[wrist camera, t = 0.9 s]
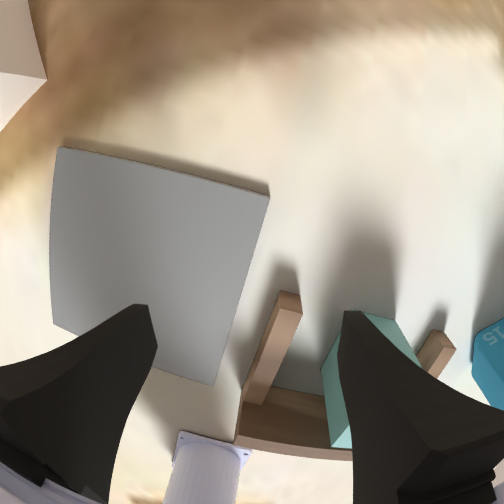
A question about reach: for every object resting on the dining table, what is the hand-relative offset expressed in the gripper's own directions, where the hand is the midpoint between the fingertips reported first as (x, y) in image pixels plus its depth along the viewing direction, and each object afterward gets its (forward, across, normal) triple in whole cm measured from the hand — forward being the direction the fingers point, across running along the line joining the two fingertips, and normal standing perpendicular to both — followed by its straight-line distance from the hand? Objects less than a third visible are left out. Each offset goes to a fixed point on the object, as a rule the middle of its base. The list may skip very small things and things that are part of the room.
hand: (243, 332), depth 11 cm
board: (+10, +9, +3) cm, 14 cm away
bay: (+9, -7, +11) cm, 16 cm away
